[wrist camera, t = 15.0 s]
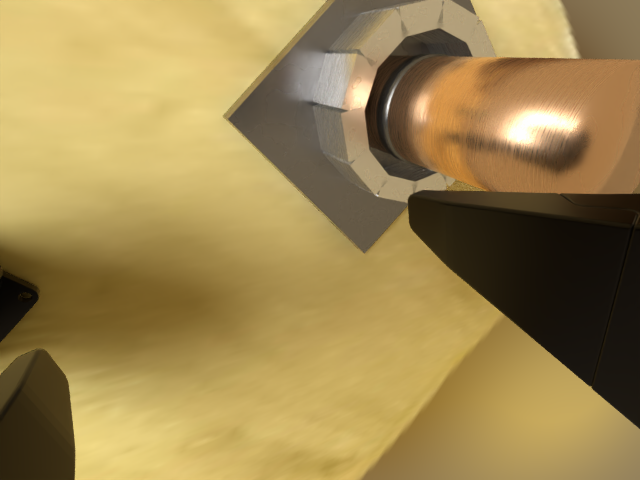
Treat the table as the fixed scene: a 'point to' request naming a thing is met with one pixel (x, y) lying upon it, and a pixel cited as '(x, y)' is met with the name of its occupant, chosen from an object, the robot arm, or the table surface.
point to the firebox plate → (295, 129)
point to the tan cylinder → (512, 121)
